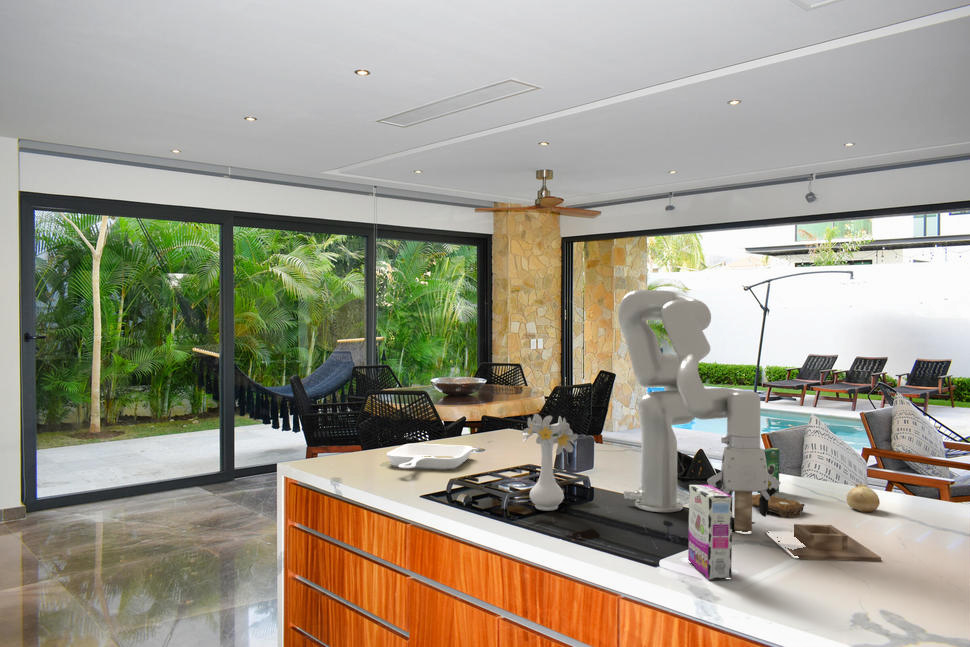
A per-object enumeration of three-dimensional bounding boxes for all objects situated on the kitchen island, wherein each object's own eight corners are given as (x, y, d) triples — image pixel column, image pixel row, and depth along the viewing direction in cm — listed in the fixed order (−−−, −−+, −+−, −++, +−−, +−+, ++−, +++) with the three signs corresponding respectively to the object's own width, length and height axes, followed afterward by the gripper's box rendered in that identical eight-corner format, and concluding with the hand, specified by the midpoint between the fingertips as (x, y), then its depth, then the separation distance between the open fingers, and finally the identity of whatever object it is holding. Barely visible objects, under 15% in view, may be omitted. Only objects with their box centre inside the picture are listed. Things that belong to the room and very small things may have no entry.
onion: (883, 510, 191) (883, 484, 191) (875, 516, 185) (875, 489, 185) (851, 505, 196) (851, 479, 196) (842, 510, 190) (842, 484, 190)
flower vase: (554, 519, 179) (555, 421, 179) (509, 504, 193) (509, 414, 193) (590, 511, 186) (591, 417, 186) (544, 498, 201) (545, 410, 201)
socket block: (793, 558, 150) (794, 540, 150) (765, 533, 168) (765, 517, 168) (881, 561, 149) (881, 543, 149) (843, 535, 167) (843, 519, 167)
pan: (476, 458, 262) (476, 445, 262) (444, 482, 221) (444, 467, 221) (407, 454, 269) (407, 442, 269) (364, 477, 228) (364, 463, 228)
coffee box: (770, 489, 213) (771, 446, 213) (780, 491, 211) (780, 448, 211) (756, 493, 208) (757, 449, 208) (766, 495, 206) (766, 451, 206)
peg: (736, 534, 167) (737, 484, 167) (731, 529, 171) (732, 480, 171) (754, 534, 167) (754, 484, 167) (749, 529, 171) (749, 480, 171)
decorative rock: (736, 510, 191) (790, 524, 180) (736, 495, 191) (791, 508, 180) (756, 501, 199) (809, 513, 188) (756, 487, 199) (810, 498, 188)
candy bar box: (733, 580, 137) (733, 496, 137) (708, 581, 136) (709, 496, 136) (710, 561, 148) (710, 483, 148) (687, 561, 147) (687, 483, 147)
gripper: (710, 444, 166) (710, 518, 166) (786, 445, 165) (786, 519, 165) (703, 439, 173) (702, 510, 173) (775, 440, 172) (774, 511, 172)
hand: (743, 514), depth 169 cm, fingers open, 8 cm apart
